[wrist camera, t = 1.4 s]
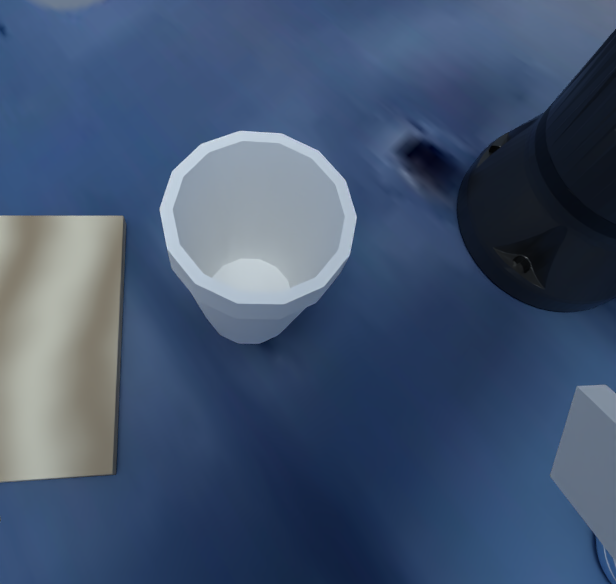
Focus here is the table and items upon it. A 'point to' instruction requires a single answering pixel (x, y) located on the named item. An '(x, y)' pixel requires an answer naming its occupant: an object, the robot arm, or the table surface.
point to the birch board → (60, 345)
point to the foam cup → (256, 230)
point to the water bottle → (606, 562)
